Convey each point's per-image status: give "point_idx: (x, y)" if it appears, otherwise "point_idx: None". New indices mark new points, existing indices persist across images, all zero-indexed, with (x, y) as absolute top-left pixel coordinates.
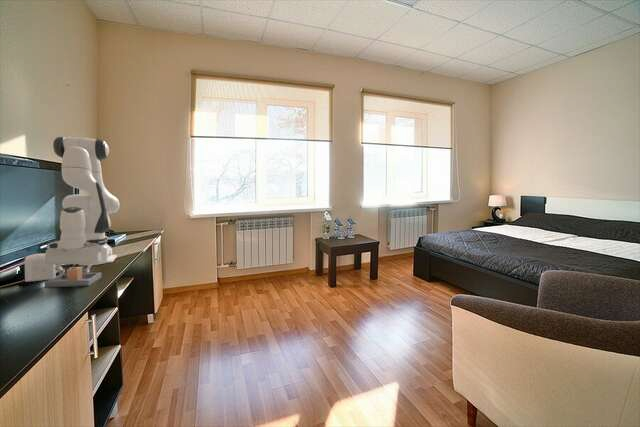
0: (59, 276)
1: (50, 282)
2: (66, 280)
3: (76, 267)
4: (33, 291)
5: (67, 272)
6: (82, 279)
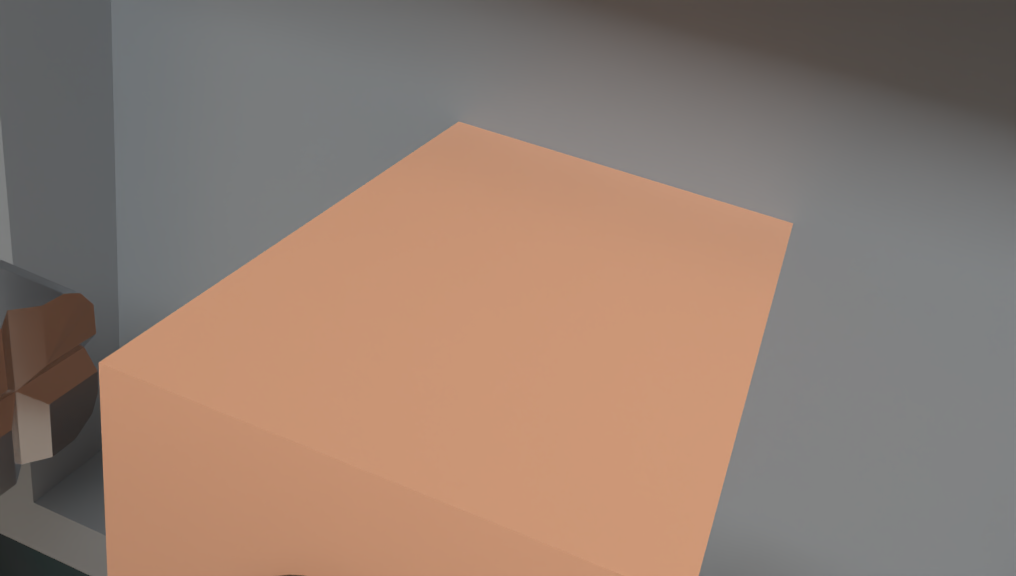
0: (3, 1)
1: (106, 568)
2: (318, 127)
3: (382, 557)
4: (40, 566)
5: None
6: (799, 216)
